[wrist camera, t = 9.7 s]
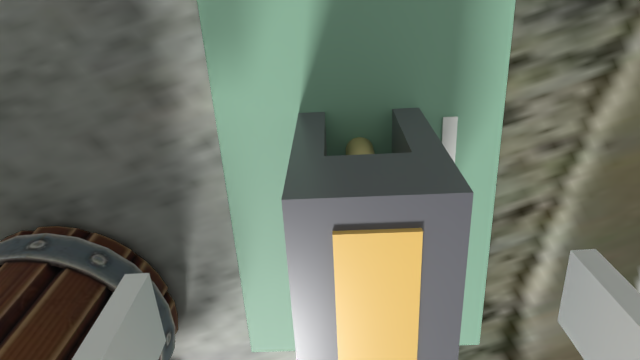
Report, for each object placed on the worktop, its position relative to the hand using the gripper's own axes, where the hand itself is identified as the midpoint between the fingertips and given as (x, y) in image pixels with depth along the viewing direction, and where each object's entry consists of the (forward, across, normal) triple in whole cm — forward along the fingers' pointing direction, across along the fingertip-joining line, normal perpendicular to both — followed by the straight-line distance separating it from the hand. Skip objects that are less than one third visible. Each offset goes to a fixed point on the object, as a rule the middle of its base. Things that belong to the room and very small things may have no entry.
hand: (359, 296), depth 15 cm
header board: (+7, +1, 0) cm, 8 cm away
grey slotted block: (+7, +1, 0) cm, 7 cm away
